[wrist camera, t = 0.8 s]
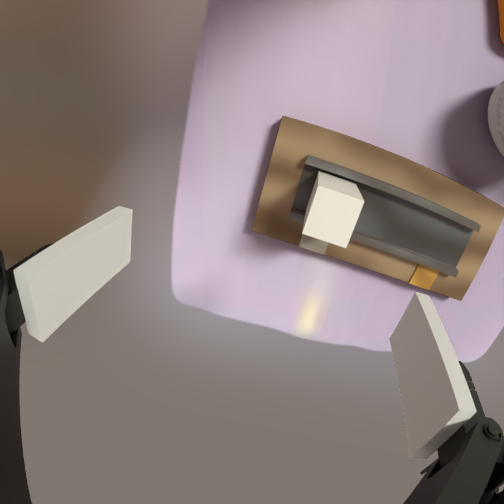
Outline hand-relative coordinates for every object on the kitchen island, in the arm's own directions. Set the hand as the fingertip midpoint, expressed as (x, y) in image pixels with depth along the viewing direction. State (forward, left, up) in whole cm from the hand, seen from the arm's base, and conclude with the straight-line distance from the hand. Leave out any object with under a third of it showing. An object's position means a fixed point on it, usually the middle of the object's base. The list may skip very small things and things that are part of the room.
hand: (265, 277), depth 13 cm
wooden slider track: (+1, +11, -23) cm, 25 cm away
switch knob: (+1, +4, -20) cm, 21 cm away
